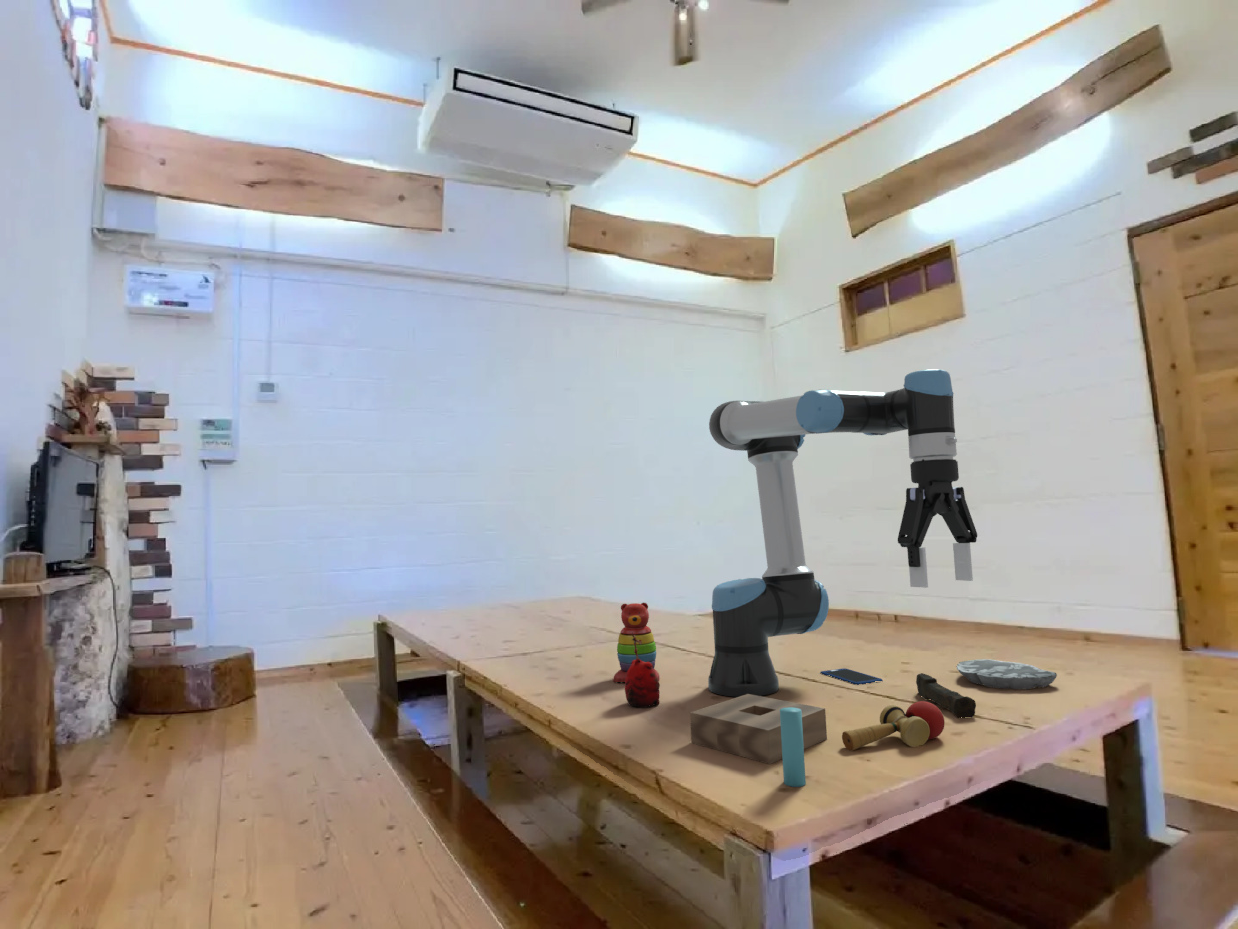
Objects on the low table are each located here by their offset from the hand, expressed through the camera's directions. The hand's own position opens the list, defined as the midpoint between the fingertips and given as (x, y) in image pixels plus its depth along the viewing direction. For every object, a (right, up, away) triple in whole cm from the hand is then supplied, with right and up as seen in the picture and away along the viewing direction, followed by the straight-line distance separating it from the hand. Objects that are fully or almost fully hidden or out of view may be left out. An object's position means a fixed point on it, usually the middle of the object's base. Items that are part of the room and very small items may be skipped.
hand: (942, 583), depth 121 cm
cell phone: (-2, -29, +41) cm, 50 cm away
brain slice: (+27, -27, +31) cm, 49 cm away
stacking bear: (-51, -31, +48) cm, 76 cm away
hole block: (-32, -26, -2) cm, 41 cm away
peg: (-30, -25, -21) cm, 44 cm away
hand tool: (+6, -26, +15) cm, 31 cm away
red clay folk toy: (-50, -29, +24) cm, 63 cm away
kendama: (-10, -25, -6) cm, 28 cm away
